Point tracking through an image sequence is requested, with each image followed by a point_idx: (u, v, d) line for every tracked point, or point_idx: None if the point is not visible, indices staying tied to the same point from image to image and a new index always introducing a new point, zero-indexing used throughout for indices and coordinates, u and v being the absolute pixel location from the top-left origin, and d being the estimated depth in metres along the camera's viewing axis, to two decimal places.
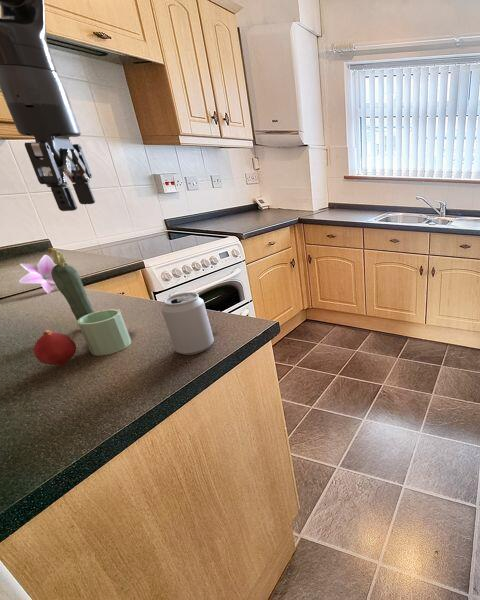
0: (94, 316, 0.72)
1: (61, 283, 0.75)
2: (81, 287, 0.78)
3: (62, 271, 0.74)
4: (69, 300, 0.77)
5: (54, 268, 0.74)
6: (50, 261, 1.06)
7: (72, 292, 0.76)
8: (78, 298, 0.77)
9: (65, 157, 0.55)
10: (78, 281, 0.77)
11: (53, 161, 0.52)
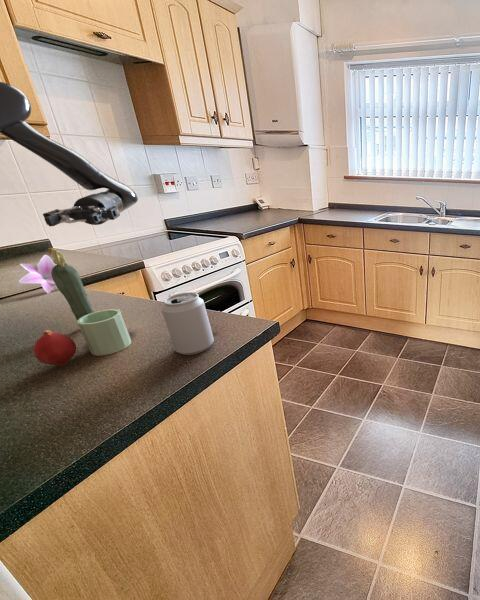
0: (94, 316, 0.72)
1: (61, 283, 0.75)
2: (81, 287, 0.78)
3: (62, 271, 0.74)
4: (69, 300, 0.77)
5: (54, 268, 0.74)
6: (50, 261, 1.05)
7: (72, 292, 0.76)
8: (78, 298, 0.77)
9: None
10: (78, 281, 0.77)
11: None
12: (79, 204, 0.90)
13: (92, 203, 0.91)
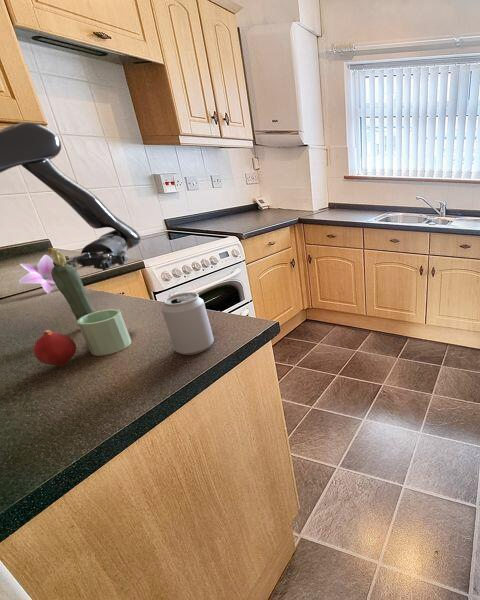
0: (94, 316, 0.72)
1: (61, 283, 0.75)
2: (81, 287, 0.78)
3: (62, 271, 0.74)
4: (69, 300, 0.77)
5: (54, 268, 0.74)
6: (50, 261, 1.05)
7: (72, 292, 0.76)
8: (78, 298, 0.77)
9: None
10: (78, 281, 0.77)
11: None
12: (87, 250, 0.92)
13: (100, 248, 0.93)
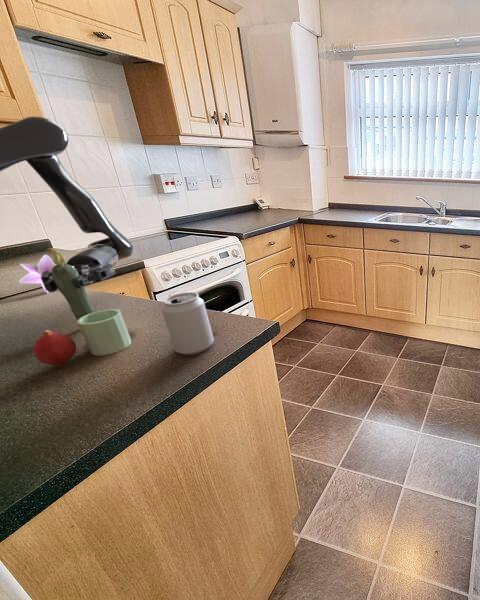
0: (94, 316, 0.72)
1: (61, 283, 0.75)
2: None
3: (62, 271, 0.74)
4: (69, 300, 0.77)
5: (54, 268, 0.74)
6: (50, 261, 1.05)
7: (72, 292, 0.76)
8: (78, 298, 0.77)
9: None
10: None
11: None
12: (72, 263, 0.83)
13: (87, 261, 0.84)
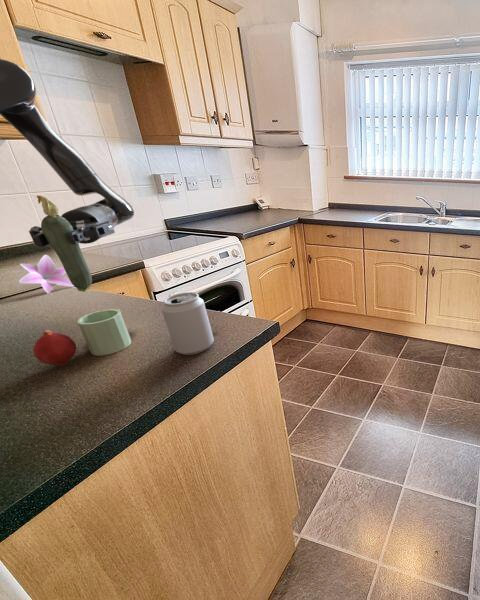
0: (94, 316, 0.72)
1: (53, 236, 0.65)
2: None
3: (54, 223, 0.64)
4: (62, 258, 0.67)
5: (44, 219, 0.64)
6: (50, 261, 1.05)
7: (66, 248, 0.66)
8: (73, 256, 0.68)
9: (89, 237, 0.73)
10: None
11: None
12: (66, 219, 0.73)
13: (82, 217, 0.74)
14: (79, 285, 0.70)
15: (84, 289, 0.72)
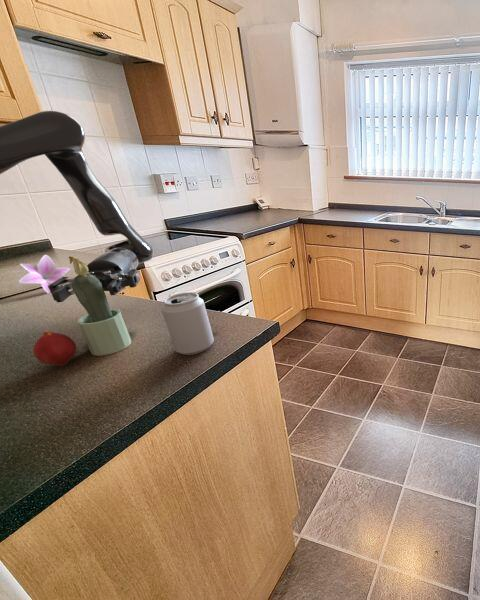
0: None
1: (83, 295, 0.67)
2: (104, 299, 0.70)
3: (84, 282, 0.66)
4: (91, 314, 0.69)
5: (75, 279, 0.66)
6: (50, 261, 1.05)
7: (95, 305, 0.68)
8: (101, 312, 0.69)
9: None
10: (101, 293, 0.69)
11: (134, 282, 0.76)
12: (91, 269, 0.75)
13: (107, 267, 0.76)
14: None
15: None
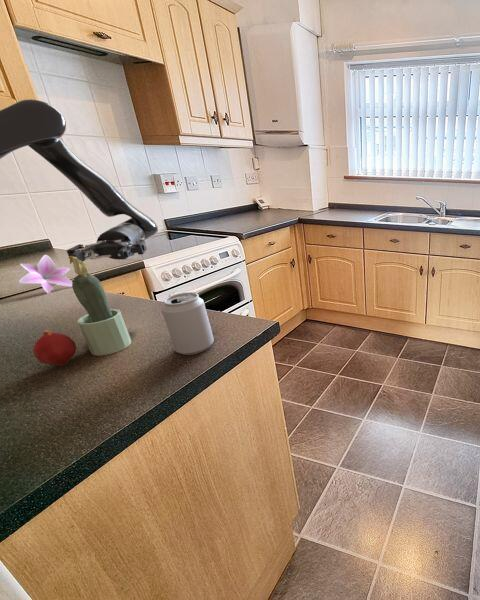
0: None
1: (83, 295, 0.67)
2: (104, 299, 0.70)
3: (84, 282, 0.66)
4: (91, 314, 0.69)
5: (75, 279, 0.66)
6: (50, 261, 1.06)
7: (95, 305, 0.68)
8: (101, 312, 0.69)
9: None
10: (101, 293, 0.69)
11: None
12: (103, 238, 0.84)
13: (117, 237, 0.85)
14: None
15: None
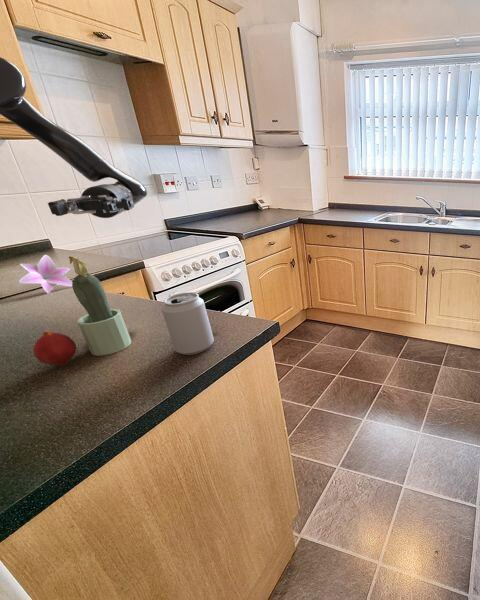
0: None
1: (83, 295, 0.67)
2: (104, 299, 0.70)
3: (84, 282, 0.66)
4: (91, 314, 0.69)
5: (75, 279, 0.66)
6: (50, 261, 1.05)
7: (95, 305, 0.68)
8: (101, 312, 0.69)
9: None
10: (101, 293, 0.69)
11: None
12: (88, 194, 0.80)
13: (103, 193, 0.81)
14: None
15: None
